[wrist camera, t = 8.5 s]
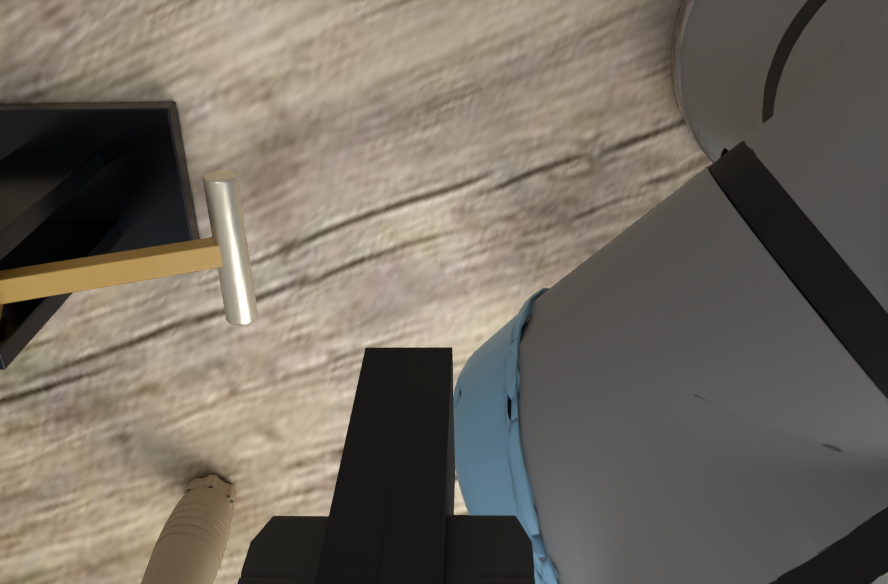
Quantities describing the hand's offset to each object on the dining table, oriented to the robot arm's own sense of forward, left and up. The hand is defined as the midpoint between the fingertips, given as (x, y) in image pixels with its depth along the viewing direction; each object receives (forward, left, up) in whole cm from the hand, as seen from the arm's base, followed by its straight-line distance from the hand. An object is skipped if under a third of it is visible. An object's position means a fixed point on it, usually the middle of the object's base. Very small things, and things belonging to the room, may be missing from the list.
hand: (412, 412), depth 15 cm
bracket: (+20, +7, -29) cm, 36 cm away
